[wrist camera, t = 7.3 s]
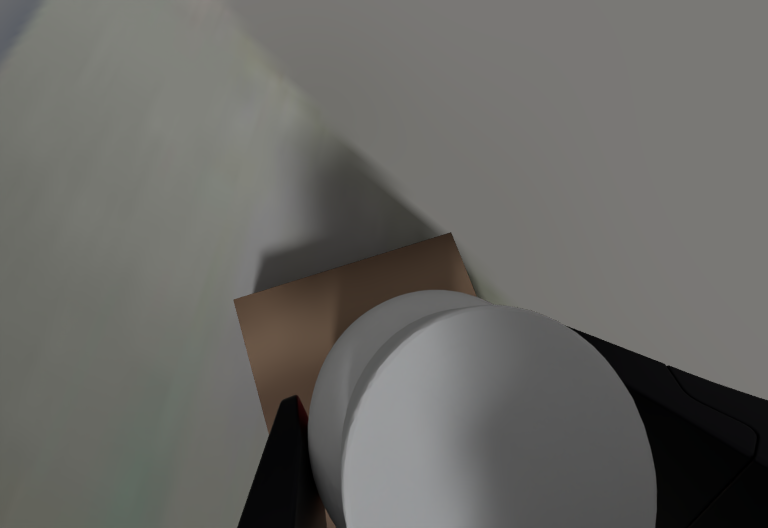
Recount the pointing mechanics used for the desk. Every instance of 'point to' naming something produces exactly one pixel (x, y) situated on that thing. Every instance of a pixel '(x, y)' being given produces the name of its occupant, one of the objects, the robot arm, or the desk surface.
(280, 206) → the desk surface
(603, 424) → the pill bottle
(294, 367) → the walnut plinth
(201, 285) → the desk surface
